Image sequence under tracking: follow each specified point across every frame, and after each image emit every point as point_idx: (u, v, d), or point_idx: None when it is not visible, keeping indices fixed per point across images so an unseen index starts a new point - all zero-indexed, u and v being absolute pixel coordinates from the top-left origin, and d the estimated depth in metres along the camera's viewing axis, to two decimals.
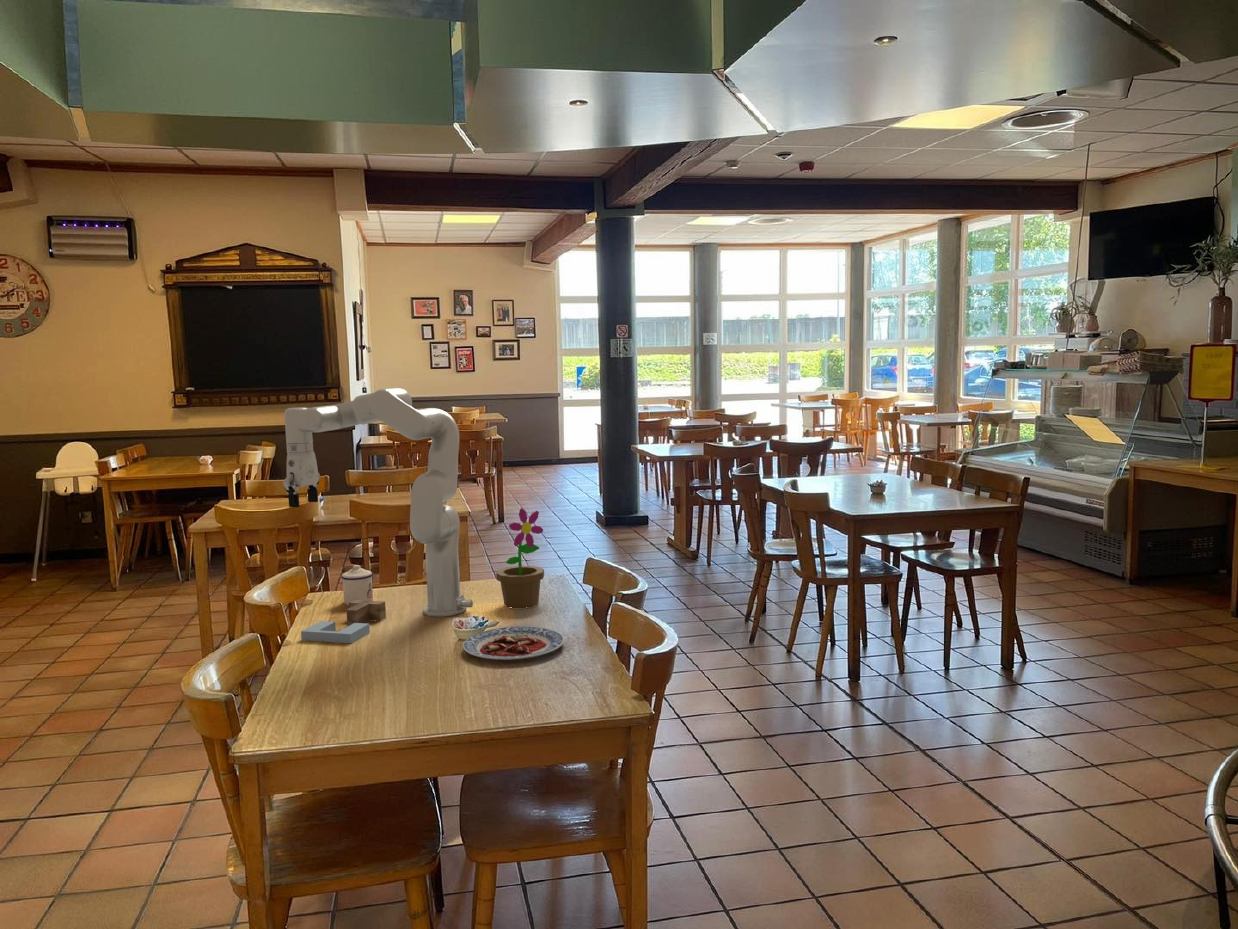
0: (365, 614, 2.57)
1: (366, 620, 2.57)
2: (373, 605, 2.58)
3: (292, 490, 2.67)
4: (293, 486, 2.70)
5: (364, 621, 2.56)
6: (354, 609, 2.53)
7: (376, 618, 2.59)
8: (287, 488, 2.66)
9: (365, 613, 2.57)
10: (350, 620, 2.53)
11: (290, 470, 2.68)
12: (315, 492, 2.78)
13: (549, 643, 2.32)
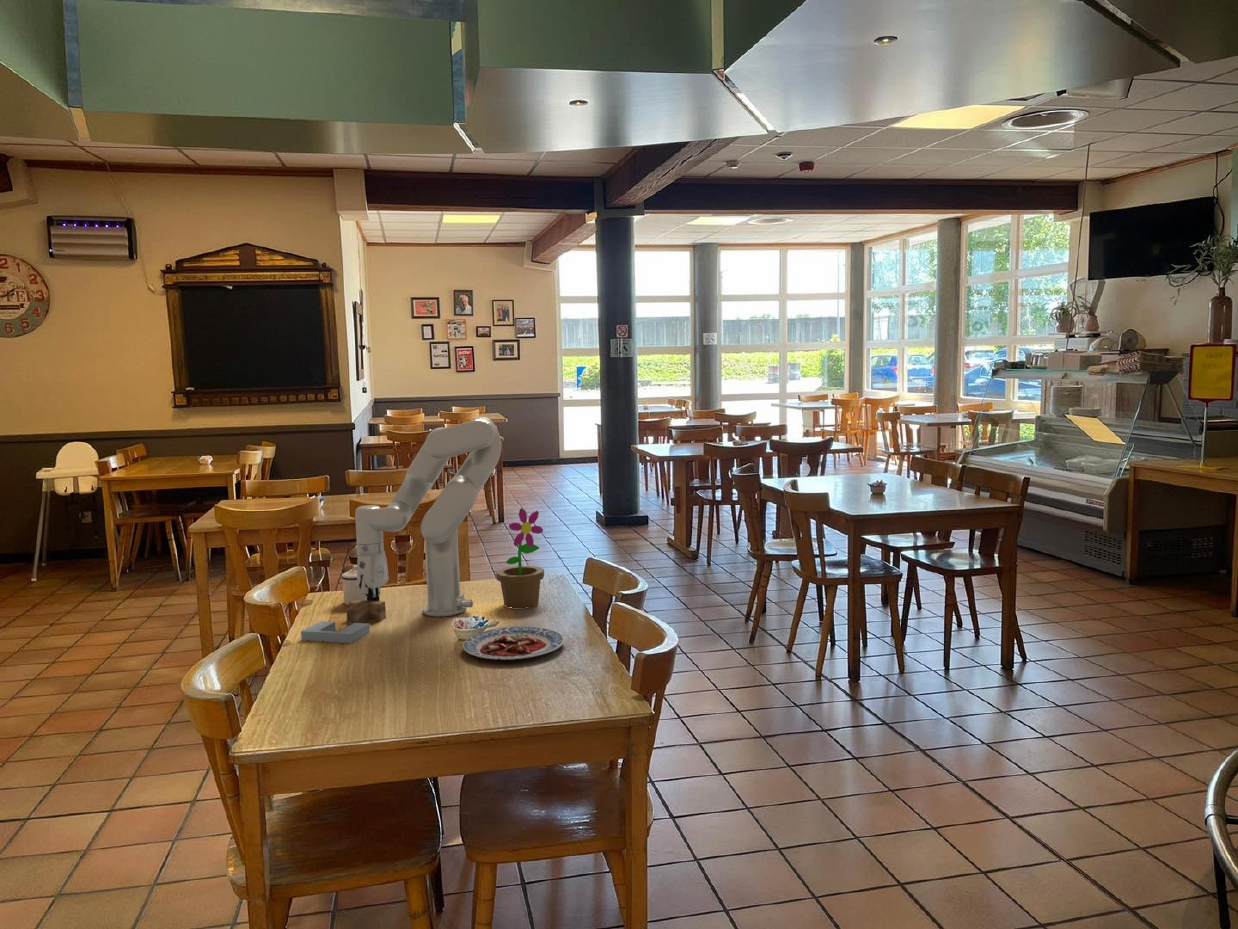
0: (365, 614, 2.57)
1: (366, 620, 2.57)
2: (373, 605, 2.58)
3: (371, 593, 2.62)
4: None
5: (364, 621, 2.56)
6: (354, 609, 2.53)
7: (376, 618, 2.59)
8: (367, 593, 2.61)
9: (365, 613, 2.57)
10: (350, 620, 2.53)
11: (361, 572, 2.58)
12: None
13: (549, 643, 2.32)
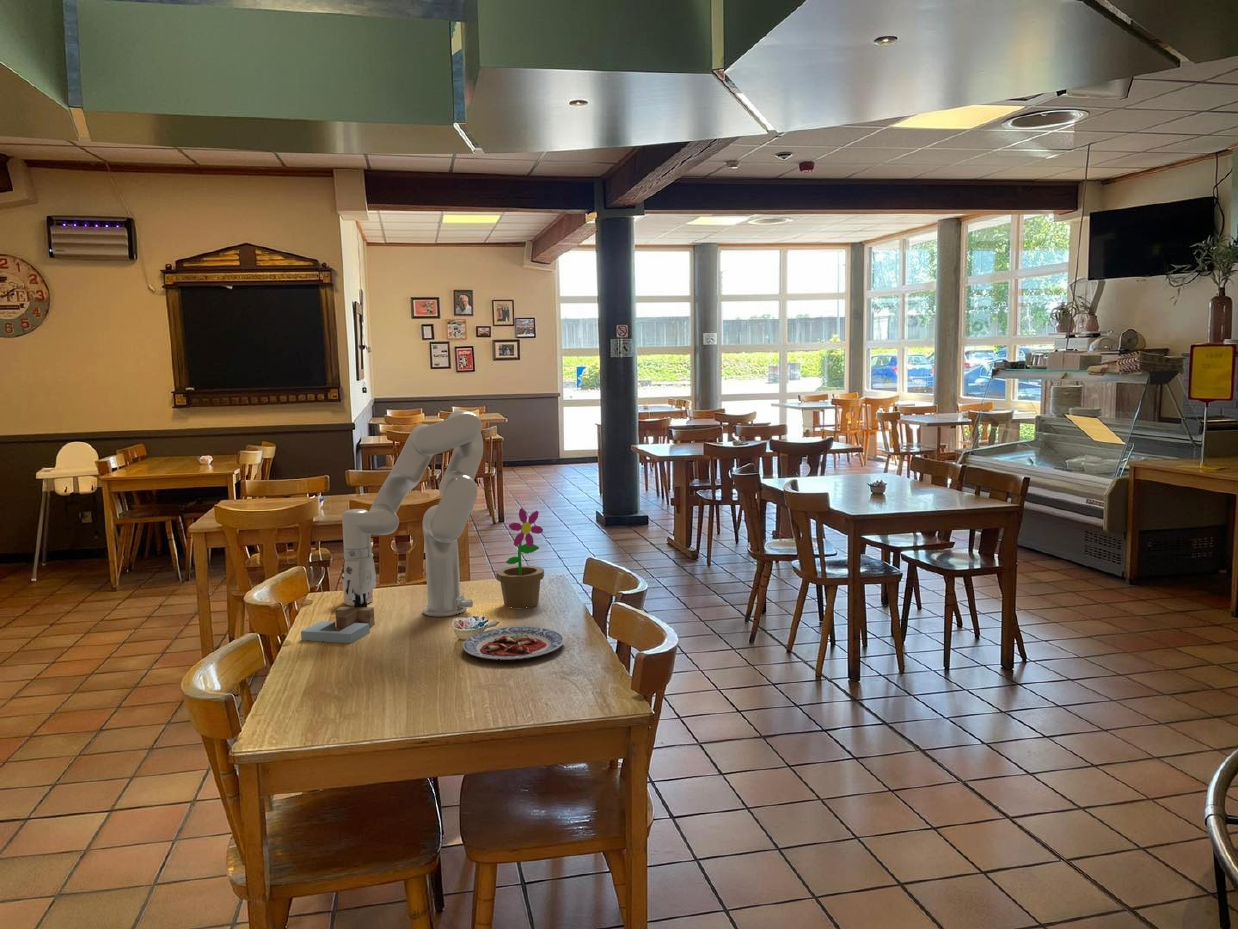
0: (354, 621, 2.50)
1: None
2: (362, 611, 2.52)
3: (359, 600, 2.55)
4: None
5: None
6: (344, 616, 2.46)
7: None
8: (354, 599, 2.54)
9: (354, 620, 2.50)
10: (340, 627, 2.46)
11: (348, 578, 2.52)
12: (365, 605, 2.57)
13: (549, 643, 2.32)
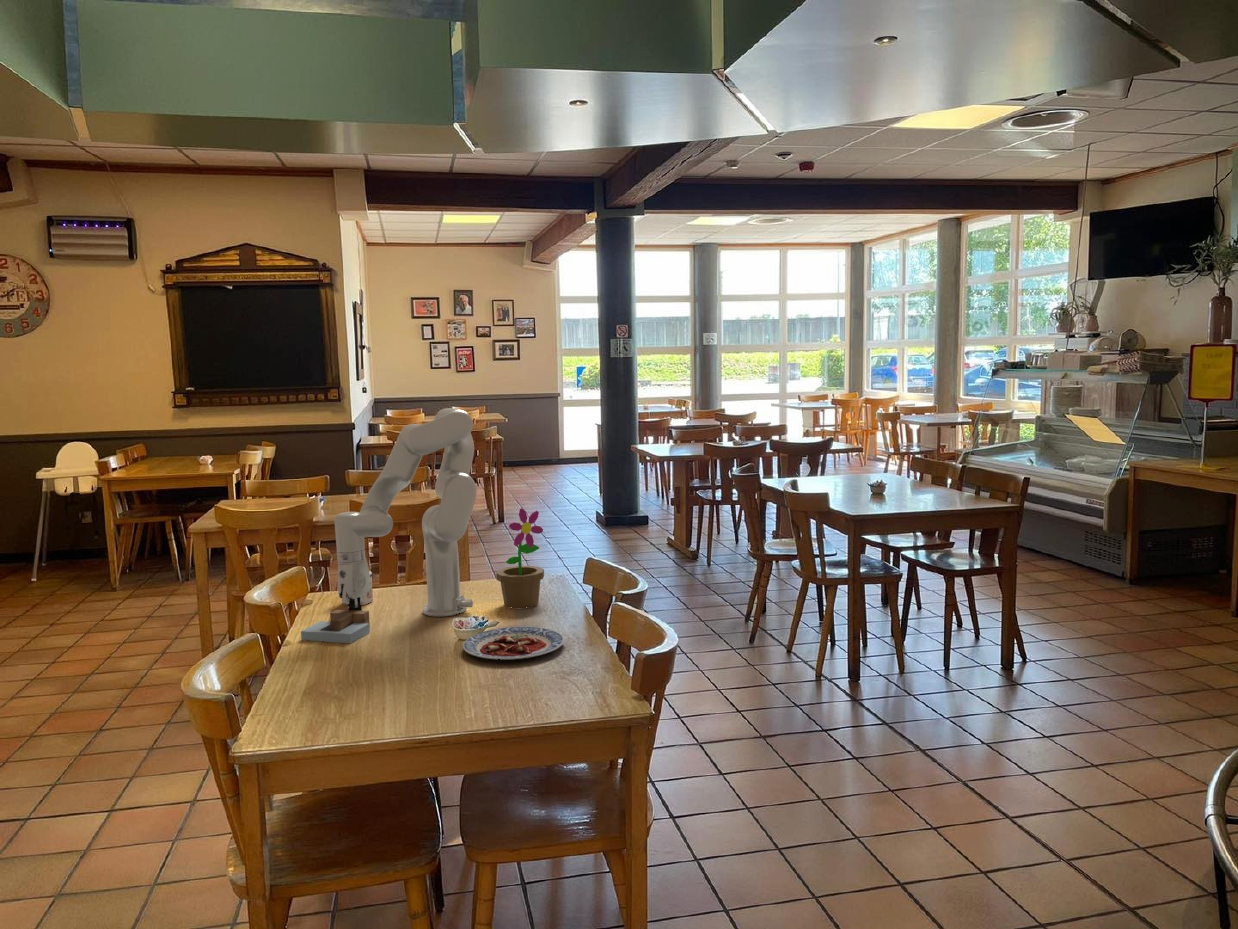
0: (349, 624, 2.47)
1: None
2: (357, 615, 2.49)
3: (353, 603, 2.52)
4: None
5: None
6: (338, 619, 2.43)
7: None
8: (348, 603, 2.51)
9: (349, 623, 2.47)
10: None
11: (341, 581, 2.48)
12: None
13: (549, 643, 2.32)
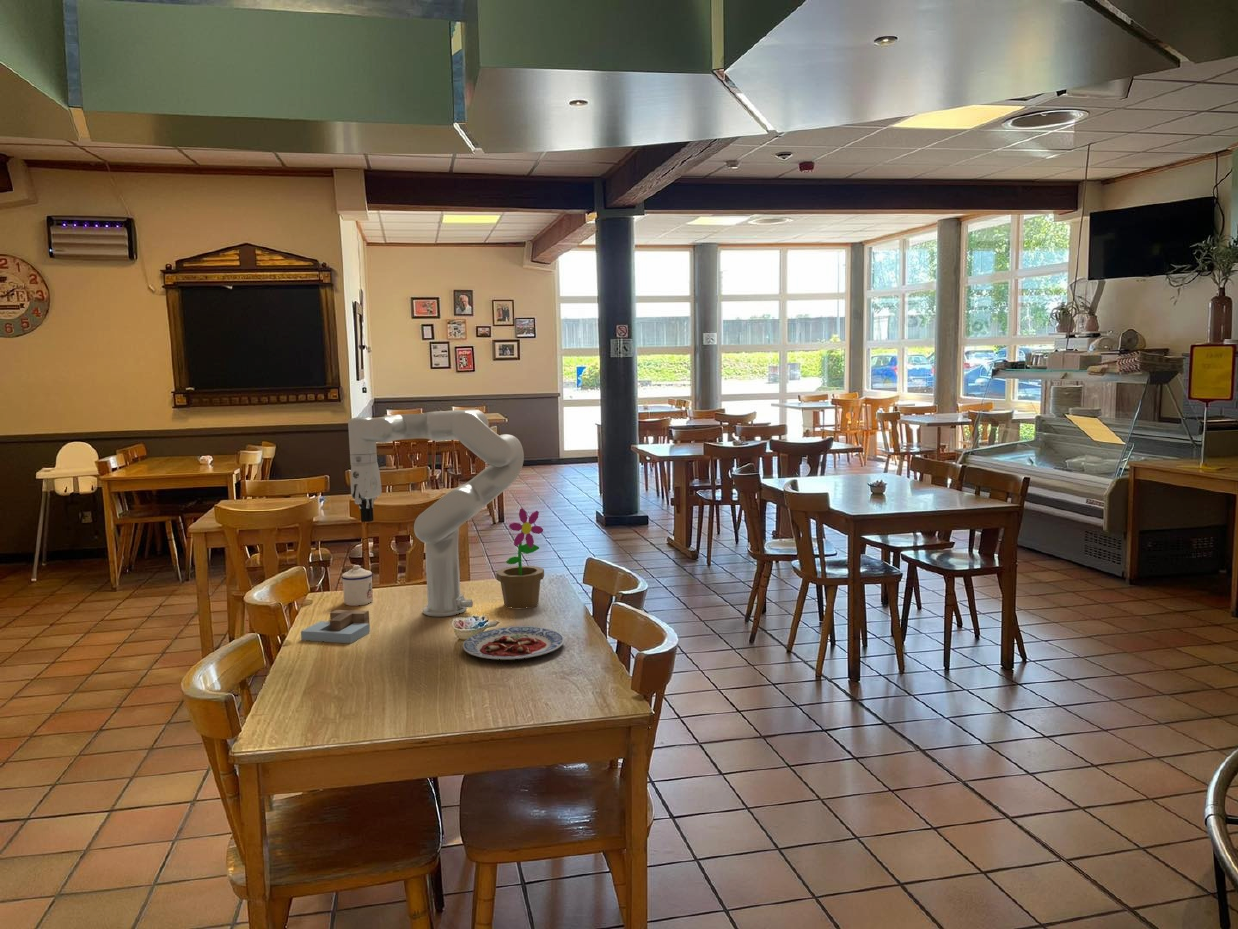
0: (349, 624, 2.47)
1: None
2: (357, 615, 2.49)
3: (365, 504, 2.64)
4: None
5: None
6: (338, 619, 2.43)
7: None
8: (361, 504, 2.63)
9: (349, 623, 2.47)
10: None
11: (354, 482, 2.60)
12: (371, 511, 2.66)
13: (549, 643, 2.32)
